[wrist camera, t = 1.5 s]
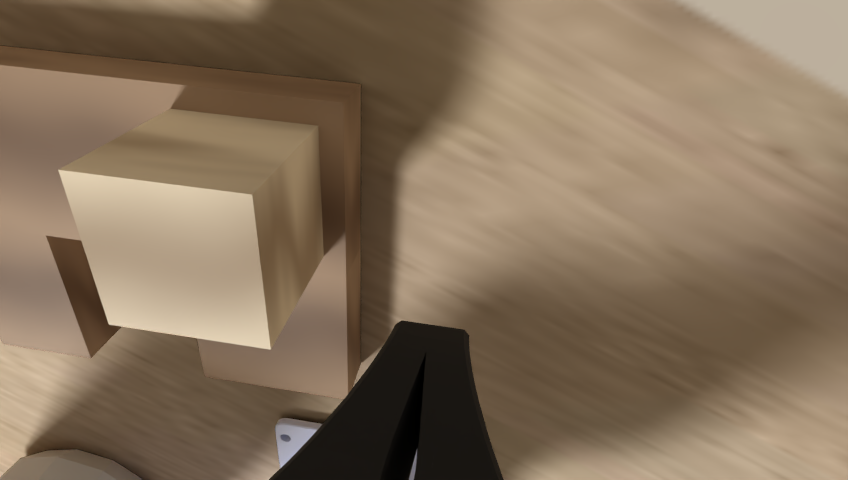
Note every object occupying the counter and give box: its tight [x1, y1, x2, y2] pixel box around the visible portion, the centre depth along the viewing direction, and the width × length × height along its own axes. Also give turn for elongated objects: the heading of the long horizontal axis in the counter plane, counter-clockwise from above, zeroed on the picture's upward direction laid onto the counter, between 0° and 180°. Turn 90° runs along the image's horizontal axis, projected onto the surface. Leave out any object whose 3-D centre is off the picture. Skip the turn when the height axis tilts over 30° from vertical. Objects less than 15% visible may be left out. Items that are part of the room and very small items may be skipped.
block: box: [58, 109, 324, 350], centre depth 15 cm, size 4×4×4 cm
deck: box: [0, 46, 361, 399], centre depth 19 cm, size 12×24×4 cm, turn 86°
